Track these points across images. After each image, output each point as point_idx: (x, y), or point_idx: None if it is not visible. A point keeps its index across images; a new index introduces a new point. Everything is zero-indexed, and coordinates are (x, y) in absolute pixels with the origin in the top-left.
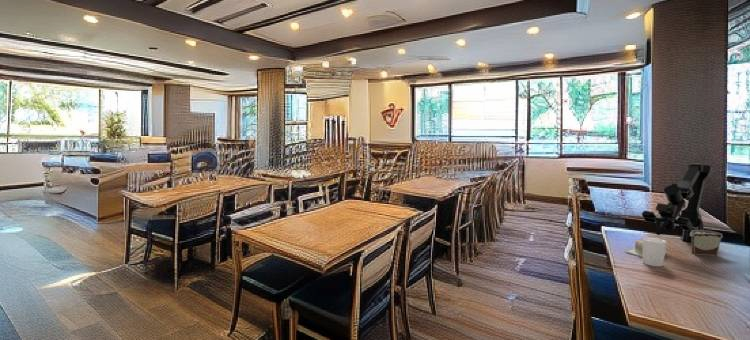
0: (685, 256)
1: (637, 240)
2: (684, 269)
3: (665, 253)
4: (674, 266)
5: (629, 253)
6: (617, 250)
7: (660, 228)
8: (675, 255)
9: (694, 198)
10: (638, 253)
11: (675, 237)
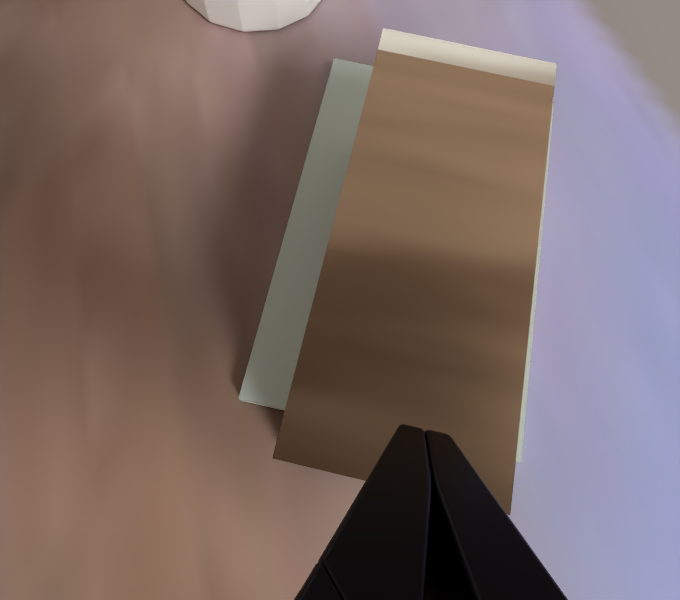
0: (27, 537)
1: (544, 83)
2: (17, 17)
3: (241, 391)
4: (96, 35)
5: None
6: (624, 119)
7: (408, 544)
8: (140, 466)
9: None
10: None
11: None
